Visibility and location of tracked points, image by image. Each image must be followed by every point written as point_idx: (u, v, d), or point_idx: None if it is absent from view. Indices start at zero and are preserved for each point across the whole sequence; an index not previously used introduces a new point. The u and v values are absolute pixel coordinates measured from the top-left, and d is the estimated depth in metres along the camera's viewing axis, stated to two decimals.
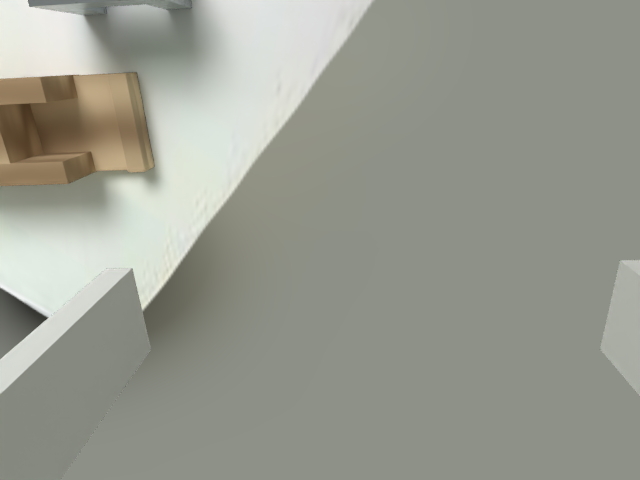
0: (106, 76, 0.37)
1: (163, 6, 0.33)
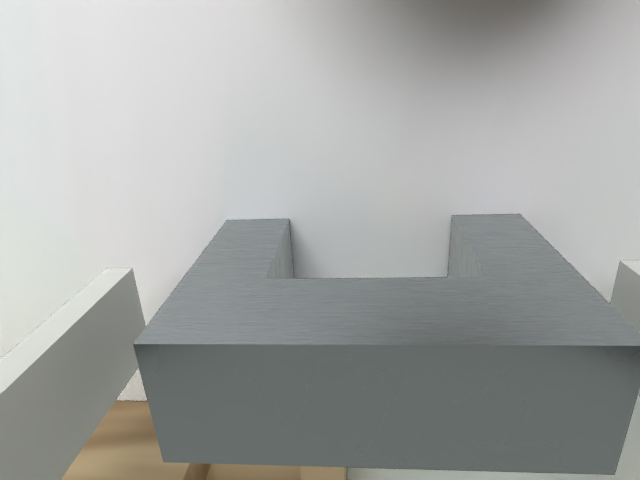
0: None
1: None
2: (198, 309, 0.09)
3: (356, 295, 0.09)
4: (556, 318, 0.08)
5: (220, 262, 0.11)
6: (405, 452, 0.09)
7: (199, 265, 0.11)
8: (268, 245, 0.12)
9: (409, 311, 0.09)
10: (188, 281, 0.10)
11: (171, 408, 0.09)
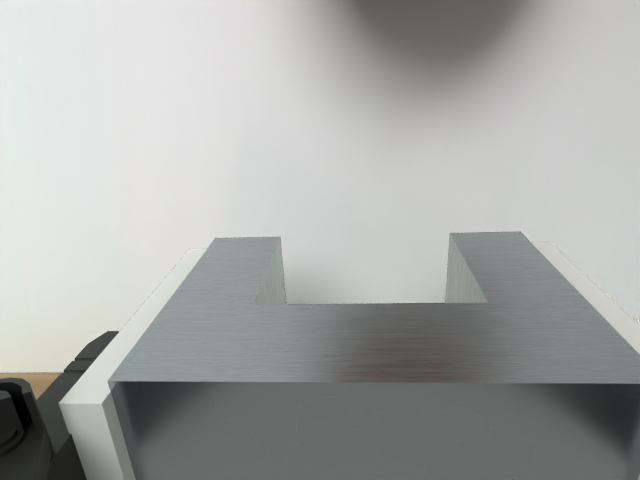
0: None
1: None
2: (180, 340, 0.09)
3: (349, 324, 0.09)
4: (563, 351, 0.08)
5: (206, 285, 0.11)
6: None
7: (184, 289, 0.11)
8: (257, 265, 0.12)
9: (406, 342, 0.08)
10: (171, 307, 0.10)
11: (150, 448, 0.08)
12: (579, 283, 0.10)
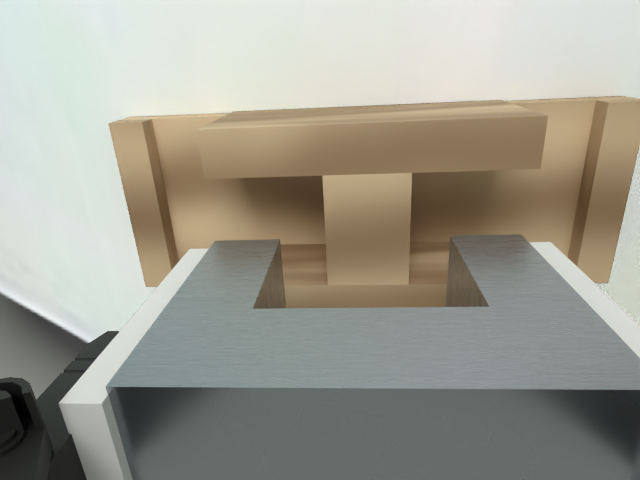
0: (578, 105, 0.18)
1: None
2: (179, 344, 0.09)
3: (349, 328, 0.09)
4: (565, 356, 0.08)
5: (205, 289, 0.11)
6: None
7: (183, 292, 0.10)
8: (257, 269, 0.12)
9: (406, 347, 0.08)
10: (170, 311, 0.10)
11: (148, 454, 0.08)
12: (579, 283, 0.10)
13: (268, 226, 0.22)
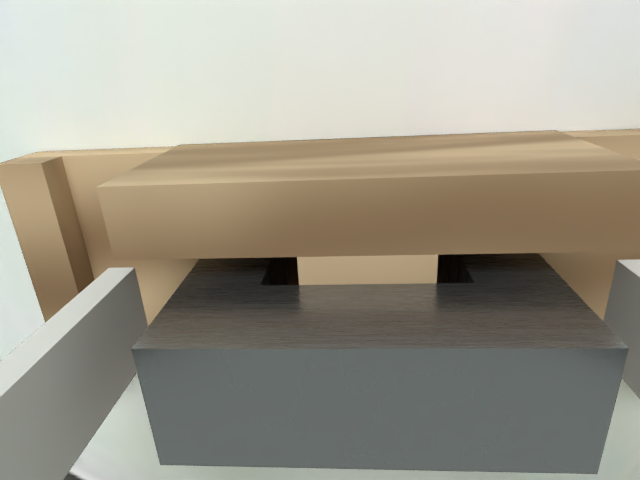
0: None
1: None
2: (194, 315, 0.10)
3: (348, 301, 0.10)
4: (539, 322, 0.09)
5: (216, 269, 0.12)
6: (395, 453, 0.09)
7: (196, 272, 0.11)
8: None
9: (399, 316, 0.09)
10: (185, 288, 0.11)
11: (168, 411, 0.09)
12: None
13: None
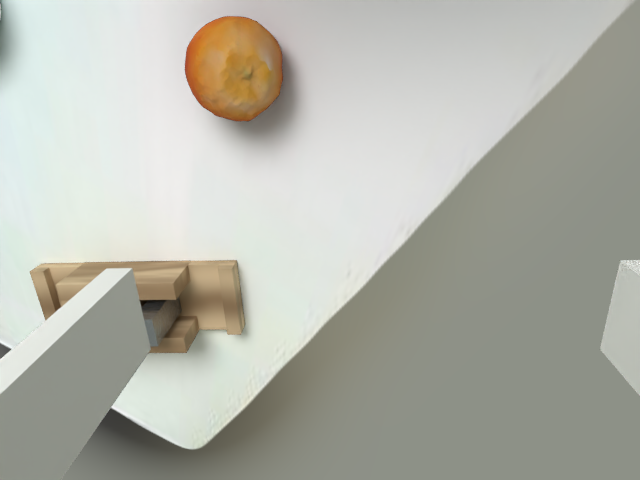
0: (214, 266, 0.47)
1: None
2: None
3: None
4: (143, 315, 0.43)
5: None
6: None
7: None
8: None
9: None
10: None
11: None
12: None
13: None
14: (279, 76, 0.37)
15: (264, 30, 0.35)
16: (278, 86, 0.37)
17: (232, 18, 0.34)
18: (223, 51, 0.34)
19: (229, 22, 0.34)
